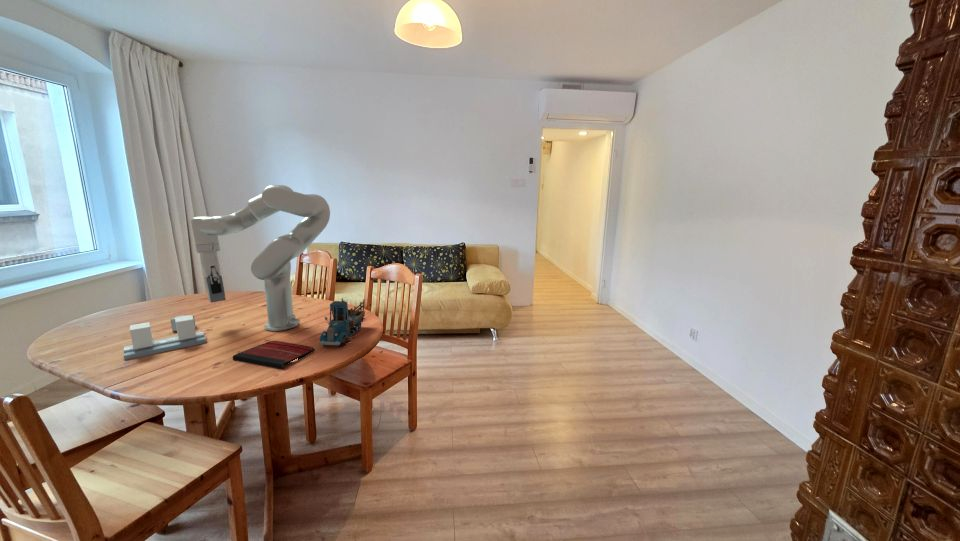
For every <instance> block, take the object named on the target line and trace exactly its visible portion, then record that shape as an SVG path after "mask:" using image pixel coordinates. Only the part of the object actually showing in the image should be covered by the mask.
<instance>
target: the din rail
mask: <svg viewBox="0 0 960 541" xmlns="http://www.w3.org/2000/svg"><path fill="white" fill-rule="evenodd" d="M197 332H198V333H196V337H194V338H199V337H203V336H205V333H204V331H202V332H200V331H197ZM172 337H173V338H169V337H167V338H168V339H164V338H162V339H163V340H159V339H157V340H158V341H154V340H153V346H149V347H154V346H159V345H164V344H169V343H174V342H179V341H184V340H189V339H194V338H189V339H184V340H179V338H178V337H175V336H172ZM131 345H132V346H128V345H126V346H127V347H125V346H124V347H123V354H124V353H125V352H130V351H134V350H139V349H144V348H149V347H144V348H139V349H133V344H131Z"/></svg>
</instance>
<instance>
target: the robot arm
mask: <svg viewBox="0 0 960 541" xmlns="http://www.w3.org/2000/svg"><path fill="white" fill-rule="evenodd" d="M280 211H281V212H283V213H284V212H285V213H287V214H290V215H294V216H297V217H302V218H303V219H302V220H301V221H299V222H298V223H297V225H296V226H295V227H294V228H293V229H292V230H290V231H289V232H288V233H286V234H283V235H281V236H278V237H276V238H275V239H273V240H272V241H271V242H270V243H269V244H268V245H267V246H266V247H265V248H264V249H263V250H262V251H261V252H260V253H259V254H258V255H257V256H256V257H255V258H254V259H253V261H252V263H251V267H250V271H251V274H252V275H253V277H255V278H256V279H258V280H261V281H263V283H264V295H265V296H264V297H265V303H266V304H265V305H266V312H267V313H266V315H267V322H266V323H265V324H264V330H267V331H271V332H280V331H287V330H290V329H292V328H295V327H296V326H298V325H299V323H301V319H300V318H296V314H294V308H293V307H294V306H293V296H292V285H291V283H292V282H291V268H292V263H291V261H292V260H293V259H296V258H297V257H299V256H301V255H302V254H303V253H304V252H305V251H306V249H307V248H308V247H309V246H310V245H311V244H312V243H313V242H314V241H315V240H316V238H318V236H320V235H321V233H322V232H323V231H324V230H325V229H326V227H327V225H328V223H329V221H330V219H331V218H330V217H331V209H330V205H329V203H328V202H327V200H326V199H325V198H324V197H323V196H322V195H319V194H315V193H314V194H313V193H312V194H311V193H310V194H305V193H302V192H297V191H294V190H293V189H292V188H291V187H290V186H287V185H284V184H272V185H268V186H266V187H265V188H264V189H263V190H262V192H261V193H260V194H259V195H256V196H254V197H252V198H250V199H249V200H248V201H247V205H246V206H245V207H243V208H242V209H240V210H238V211H235V212H234V213H232V214H224V215H216V216H210V215H209V216H208V215H206V216H194V217H191V219H190V223H191V229H192V233H193V239H194V245H195V251H196V253H198V254H200V263H201V269H202V274H203V276H204V278H205V277H206V278H208V276H210V281H211V284H210V285H211V290H212V294H217V293H222V290H221V284H220V281H219V277H218V275H219V276H220V275H221V268H220V262H219V256H218V252H220V251H221V248H220V243H219V236H221V237H223V236H228V235H232V234H237V233H240V232H242V231H244V230H246V229H249V228H251V227H253V226H255V225H256V224H258V223H259V222H261V221H263V220H265V219H267V218H269V217H271V216H272V215H274V214H277V213H278V212H280ZM211 275H213V276H211Z"/></svg>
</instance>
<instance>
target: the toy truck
mask: <svg viewBox="0 0 960 541" xmlns="http://www.w3.org/2000/svg"><path fill="white" fill-rule="evenodd" d="M362 300H363V301H360V302H359V304H358V305H357V306H354V307H351V308H350V309H349V307H348V301H345V300H344V298H343V297H342V298H341V301H340V300H335V301H332V302H331V303H330V304H329V320H328V317H327V316H324V320H325V321H327V322H326V323H327V324H328V327H327V330H323V331H322V332H321V333H320V336H319V345H322V346H323V347H325V346H326V347H327V346H336V347H337V346H338V347H339V348H342V347H343V346H347V344H349V343H348V342H351V340H349V338H352V337H353V336H354V335H355V334H356V333H357V332H358V331H360V330H361V328H362V324H363V322H364V320H365V319H366V317H365V316H366V311H365V301H366V299H365V298H363V299H362ZM359 329H360V330H359ZM345 338H346V339H348V340H345Z"/></svg>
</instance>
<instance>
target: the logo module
mask: <svg viewBox="0 0 960 541" xmlns="http://www.w3.org/2000/svg"><path fill="white" fill-rule="evenodd" d="M211 276H213V275H211ZM218 277H219V281H220V284H221V290H222V293H217V294H212V290H211V285H210V284H211V281H210V276H208V278H206V277H205V276H204V280H205V281H204V282H205V285H206V291H207V298H208V301H209V303H211V304H212V303H217V302H223V301H226V300H227V298H226V292H225V288H224V282H223V276H222V274H220V276H219V275H218Z"/></svg>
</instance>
